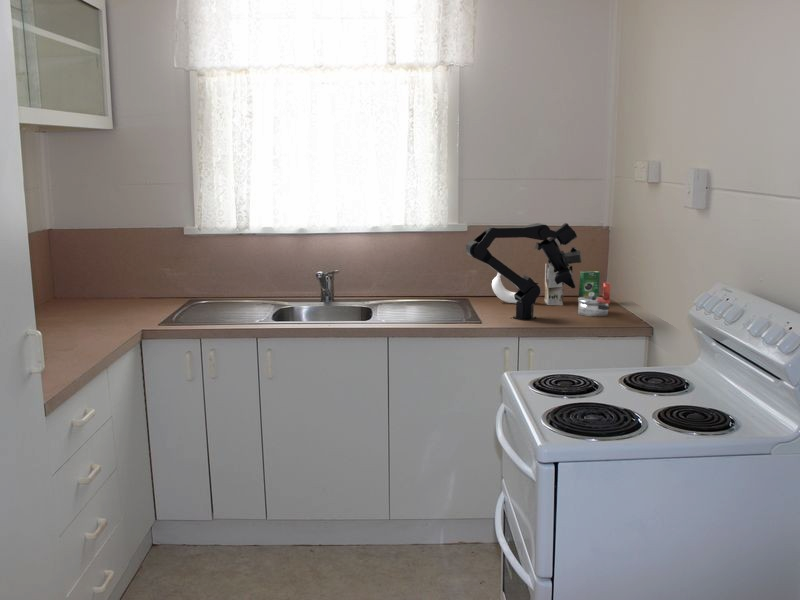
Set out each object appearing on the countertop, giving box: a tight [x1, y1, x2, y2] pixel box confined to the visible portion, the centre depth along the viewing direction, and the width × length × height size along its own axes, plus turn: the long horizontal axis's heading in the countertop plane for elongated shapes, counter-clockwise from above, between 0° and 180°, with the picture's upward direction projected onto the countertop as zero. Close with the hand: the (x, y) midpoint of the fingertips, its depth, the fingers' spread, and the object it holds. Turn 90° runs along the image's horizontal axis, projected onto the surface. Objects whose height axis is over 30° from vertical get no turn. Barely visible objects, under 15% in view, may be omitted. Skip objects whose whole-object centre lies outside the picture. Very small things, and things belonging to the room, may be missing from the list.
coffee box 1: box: [544, 262, 565, 306], centre depth 330 cm, size 9×6×16 cm
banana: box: [491, 272, 517, 304], centre depth 330 cm, size 5×19×15 cm, turn 83°
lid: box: [577, 282, 611, 305], centre depth 307 cm, size 15×12×8 cm
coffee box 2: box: [578, 270, 601, 298], centre depth 330 cm, size 8×3×13 cm, turn 109°
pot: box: [577, 302, 610, 318], centre depth 310 cm, size 16×11×4 cm
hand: (574, 287), depth 303 cm, fingers closed
